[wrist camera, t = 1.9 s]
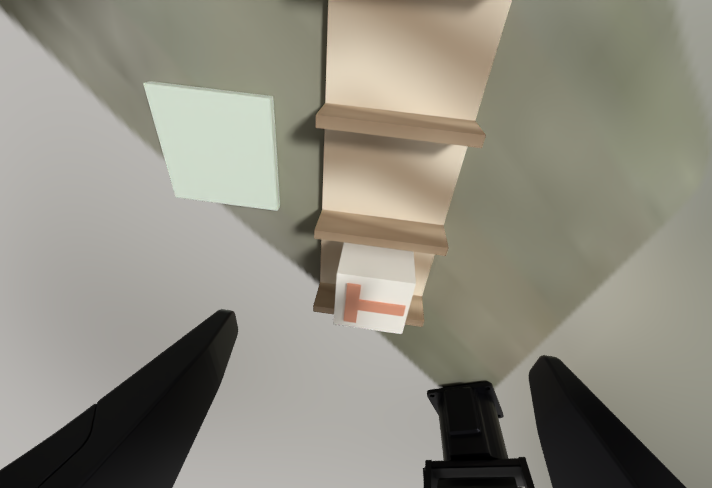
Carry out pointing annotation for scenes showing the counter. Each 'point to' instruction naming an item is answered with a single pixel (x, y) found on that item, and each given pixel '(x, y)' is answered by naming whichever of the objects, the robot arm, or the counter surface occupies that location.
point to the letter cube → (374, 287)
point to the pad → (217, 144)
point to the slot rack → (399, 125)
